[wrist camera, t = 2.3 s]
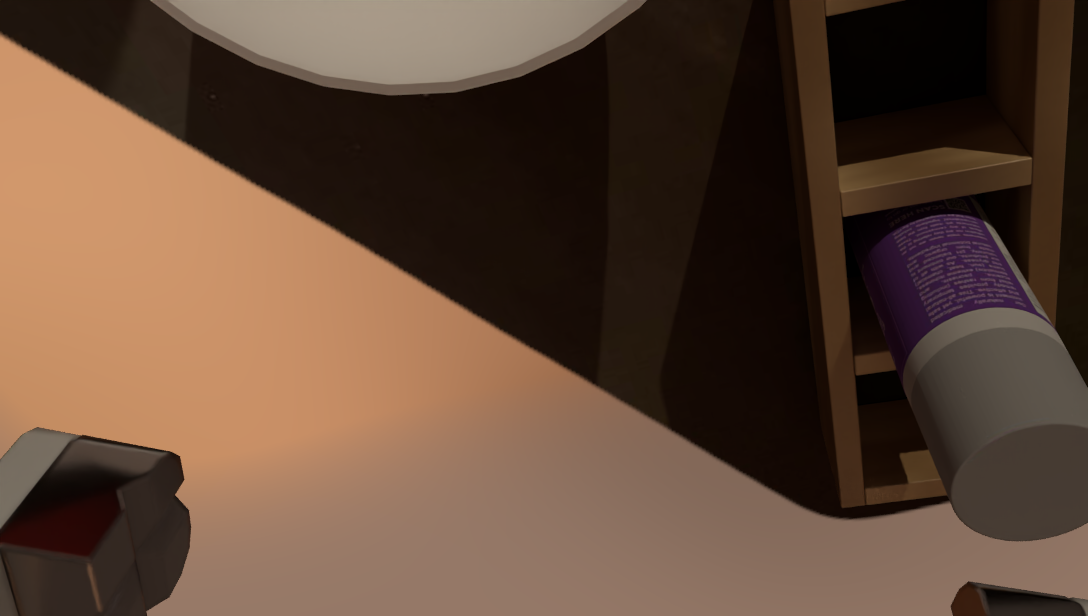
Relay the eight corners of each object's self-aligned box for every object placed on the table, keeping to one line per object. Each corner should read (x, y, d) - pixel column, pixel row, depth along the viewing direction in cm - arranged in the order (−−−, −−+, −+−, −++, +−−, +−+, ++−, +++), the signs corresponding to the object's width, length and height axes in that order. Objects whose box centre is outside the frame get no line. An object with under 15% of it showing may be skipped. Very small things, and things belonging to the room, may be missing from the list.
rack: (1020, -114, 32) (1079, -71, 28) (1006, 401, 44) (1046, 483, 40) (766, -57, 34) (787, -8, 29) (820, 426, 46) (841, 508, 42)
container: (817, 230, 40) (910, 514, 28) (885, 130, 37) (1020, 395, 25) (919, 271, 41) (1052, 564, 28) (992, 176, 38) (1172, 454, 26)
